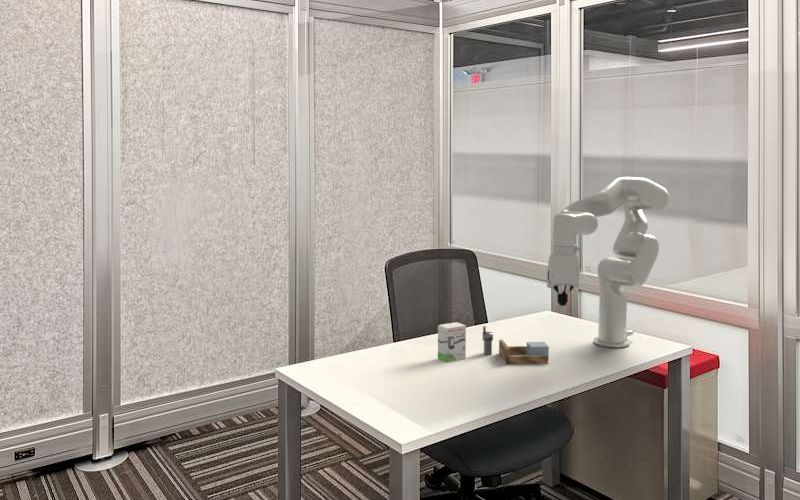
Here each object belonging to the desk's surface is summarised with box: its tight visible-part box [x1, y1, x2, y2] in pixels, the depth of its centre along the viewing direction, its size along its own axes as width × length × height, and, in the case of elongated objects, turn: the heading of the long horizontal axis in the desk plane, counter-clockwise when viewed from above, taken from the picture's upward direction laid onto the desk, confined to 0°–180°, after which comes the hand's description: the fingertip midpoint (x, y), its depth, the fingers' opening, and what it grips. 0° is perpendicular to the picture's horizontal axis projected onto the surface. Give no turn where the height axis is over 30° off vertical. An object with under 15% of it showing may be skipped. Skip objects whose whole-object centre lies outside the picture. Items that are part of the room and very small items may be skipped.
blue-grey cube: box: [526, 341, 550, 360], centre depth 227 cm, size 6×6×5 cm
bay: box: [498, 339, 549, 365], centre depth 226 cm, size 14×12×5 cm
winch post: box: [482, 325, 494, 356], centre depth 232 cm, size 4×4×10 cm
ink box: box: [437, 321, 467, 363], centre depth 226 cm, size 9×5×12 cm, turn 120°
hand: (562, 304), depth 225 cm, fingers closed
